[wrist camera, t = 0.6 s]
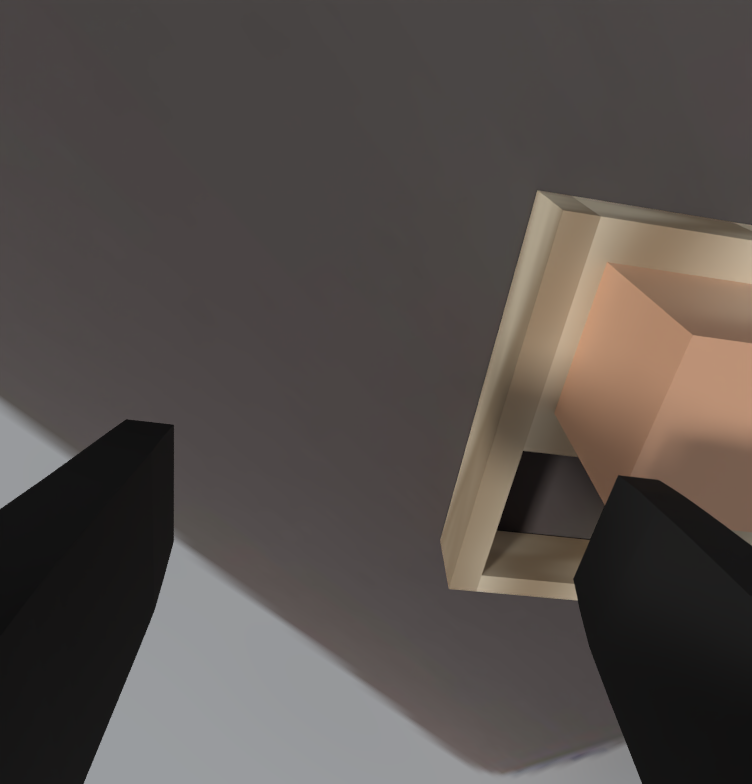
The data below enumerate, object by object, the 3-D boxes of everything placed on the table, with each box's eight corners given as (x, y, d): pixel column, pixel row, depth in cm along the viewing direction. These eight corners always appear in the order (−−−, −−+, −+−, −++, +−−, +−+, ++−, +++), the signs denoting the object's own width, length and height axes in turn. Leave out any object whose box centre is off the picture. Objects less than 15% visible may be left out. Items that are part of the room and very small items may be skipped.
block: (770, 286, 15) (906, 364, 11) (699, 431, 17) (795, 537, 13) (606, 262, 15) (692, 334, 11) (554, 412, 17) (611, 517, 13)
